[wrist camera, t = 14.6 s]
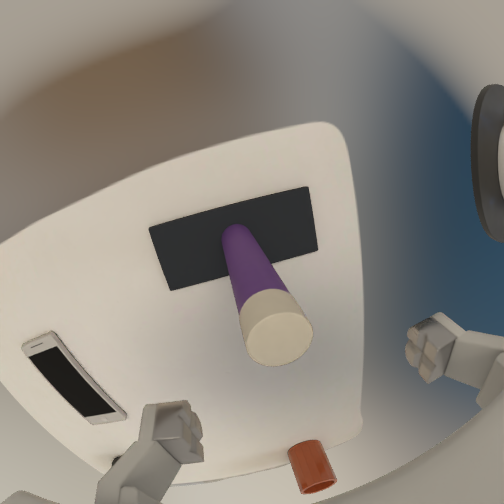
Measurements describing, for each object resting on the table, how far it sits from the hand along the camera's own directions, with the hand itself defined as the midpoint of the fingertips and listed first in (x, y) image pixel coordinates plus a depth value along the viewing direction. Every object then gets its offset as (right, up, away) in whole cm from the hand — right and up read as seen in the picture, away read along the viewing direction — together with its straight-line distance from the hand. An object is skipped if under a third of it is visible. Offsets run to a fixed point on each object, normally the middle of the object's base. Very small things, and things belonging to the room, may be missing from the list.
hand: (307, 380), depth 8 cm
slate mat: (-3, +6, +15) cm, 17 cm away
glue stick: (-3, +5, +15) cm, 16 cm away
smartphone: (-25, -12, +18) cm, 33 cm away
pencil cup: (+7, -31, +30) cm, 44 cm away
